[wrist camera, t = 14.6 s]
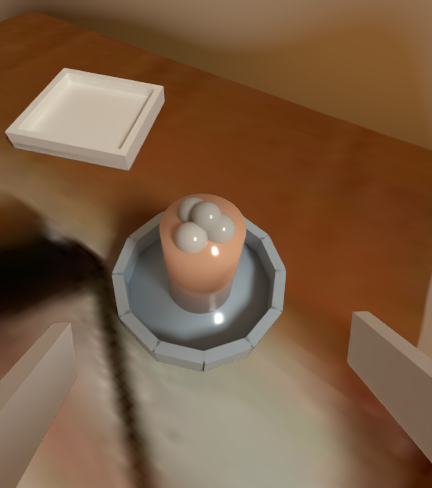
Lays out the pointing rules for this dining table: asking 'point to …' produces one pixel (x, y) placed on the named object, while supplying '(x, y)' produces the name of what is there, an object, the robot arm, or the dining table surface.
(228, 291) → the pebble cup
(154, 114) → the tray
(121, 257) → the bowl
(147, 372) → the dining table surface
